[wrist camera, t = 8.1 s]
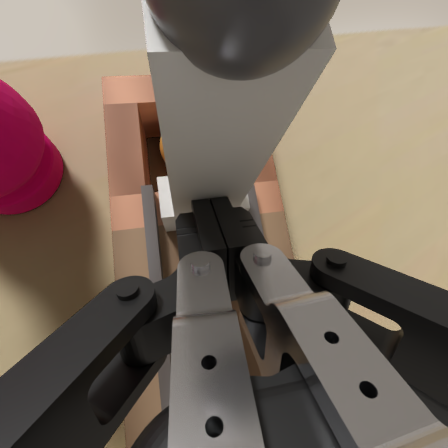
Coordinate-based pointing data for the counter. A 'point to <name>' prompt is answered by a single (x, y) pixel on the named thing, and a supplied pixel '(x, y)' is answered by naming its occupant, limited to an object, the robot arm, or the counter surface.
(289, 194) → the counter surface
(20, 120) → the pepper mill
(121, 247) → the launcher track
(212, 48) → the launcher plunger
